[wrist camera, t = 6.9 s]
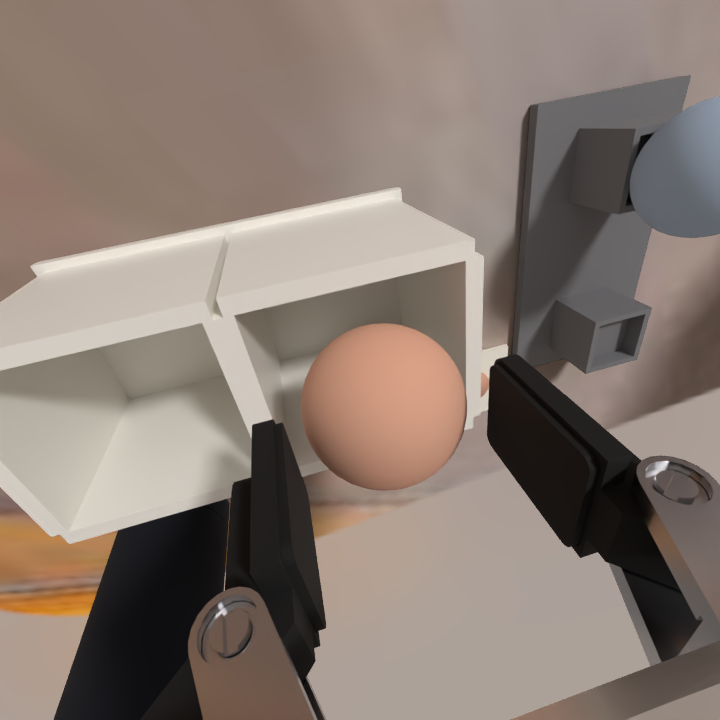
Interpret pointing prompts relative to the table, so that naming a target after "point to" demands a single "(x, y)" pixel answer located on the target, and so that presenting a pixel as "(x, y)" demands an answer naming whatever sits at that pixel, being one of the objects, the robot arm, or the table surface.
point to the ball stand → (586, 226)
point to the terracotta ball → (384, 406)
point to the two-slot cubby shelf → (208, 351)
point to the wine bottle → (146, 613)
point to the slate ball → (681, 174)
